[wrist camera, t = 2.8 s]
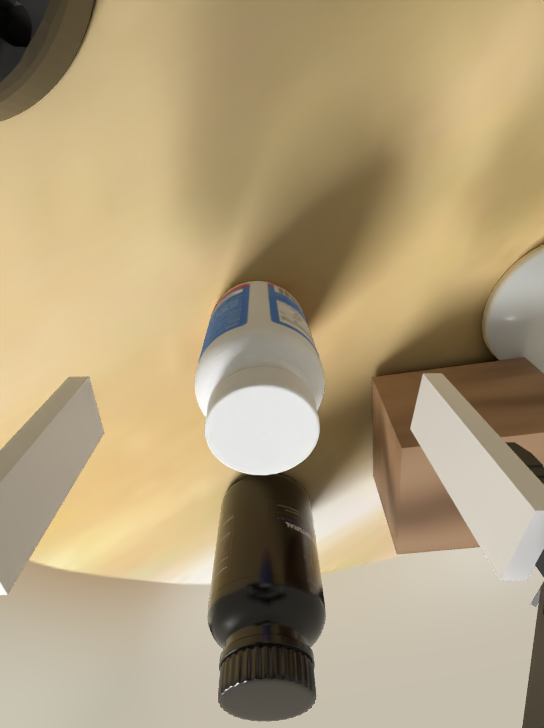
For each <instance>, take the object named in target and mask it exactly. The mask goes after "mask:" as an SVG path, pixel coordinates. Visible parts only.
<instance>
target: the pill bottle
mask: <svg viewBox="0 0 544 728" xmlns="http://www.w3.org/2000/svg"><path fill="white" fill-rule="evenodd" d="M324 390H325V378H324V372H323V368H322V364H321V361H320V358H319V355H318V352H317V350H316V347H315V344H314V341H313V338H312V335H311V332H310V330H309V327H308V324H307V321H306V318H305V315H304V313H303V310H302V308H301V306H300V304H299V303H298V301H297V300H296V299H295V298H294V297H293V295H292V294H290V293H289V292H288V291H287V290H285V289H284V288H282V287H280V286H278V285H276V284H273V283H270V282H265V281H250V282H245V283H242V284H239V285H237V286H235V287H233V288H231V289H230V290H229V291H227V292H226V293H225V294H224V295H223V296H222V297H221V298H220V300H219V301H218V302H217V304H216V306H215V308H214V310H213V312H212V315H211V318H210V322H209V326H208V329H207V333H206V337H205V340H204V344H203V348H202V351H201V355H200V359H199V362H198V366H197V371H196V376H195V393H196V398H197V402H198V404H199V407H200V409H201V410H202V412H203V414H204V415H205V417H206V422H205V436H206V440H207V443H208V446H209V448H210V449H211V451H212V453H213V454H214V455H215V456H216V457H217V459H218V460H220V461H221V462H222V463H224V464H225V465H226V466H228V467H230V468H232V469H234V470H236V471H239V472H242V473H246V474H253V475H269V474H276V473H280V472H283V471H286V470H289V469H291V468H293V467H295V466H296V465H298V464H299V463H301V462H302V461H303V460H305V459H306V458H307V457H308V456H309V455H310V453H311V452H312V450H313V449H314V447H315V446H316V443H317V441H318V438H319V434H320V422H319V417H318V412H317V411H318V409H319V407H320V405H321V402H322V399H323V395H324Z"/></svg>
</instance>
